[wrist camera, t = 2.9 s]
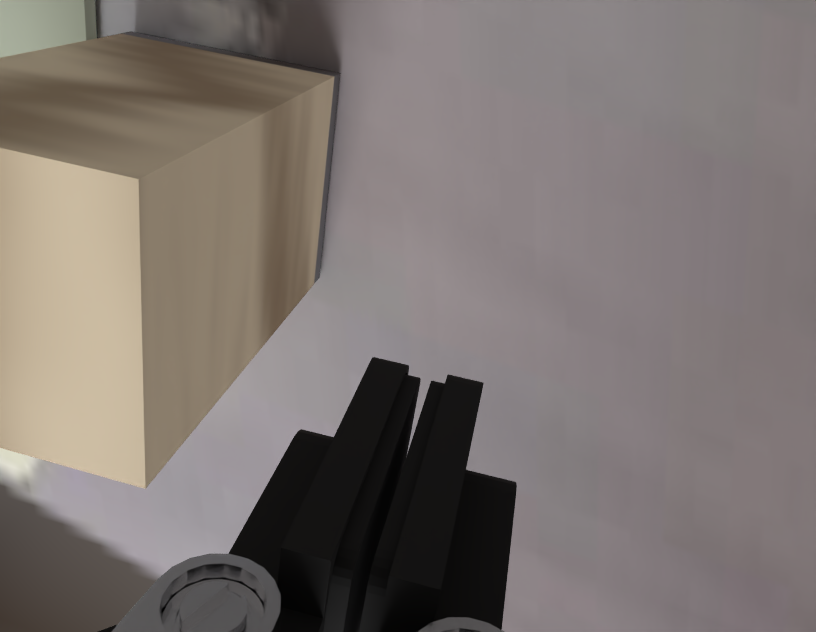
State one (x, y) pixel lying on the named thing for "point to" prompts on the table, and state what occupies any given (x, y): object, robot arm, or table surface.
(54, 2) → the rubber mat
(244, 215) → the maple block
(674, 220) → the table surface
